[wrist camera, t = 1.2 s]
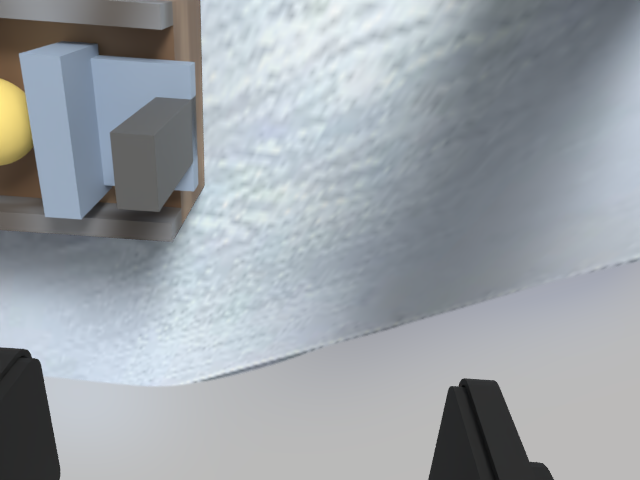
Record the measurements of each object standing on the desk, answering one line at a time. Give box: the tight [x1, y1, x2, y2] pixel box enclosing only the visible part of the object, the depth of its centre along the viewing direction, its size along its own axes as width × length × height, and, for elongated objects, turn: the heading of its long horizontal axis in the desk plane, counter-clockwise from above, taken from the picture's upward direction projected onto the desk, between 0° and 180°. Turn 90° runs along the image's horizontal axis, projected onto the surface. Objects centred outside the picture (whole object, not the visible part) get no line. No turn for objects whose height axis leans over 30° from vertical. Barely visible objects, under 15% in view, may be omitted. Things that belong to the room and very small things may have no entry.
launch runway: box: [0, 0, 204, 242], centre depth 29 cm, size 16×11×8 cm
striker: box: [19, 41, 198, 219], centre depth 24 cm, size 6×7×7 cm
